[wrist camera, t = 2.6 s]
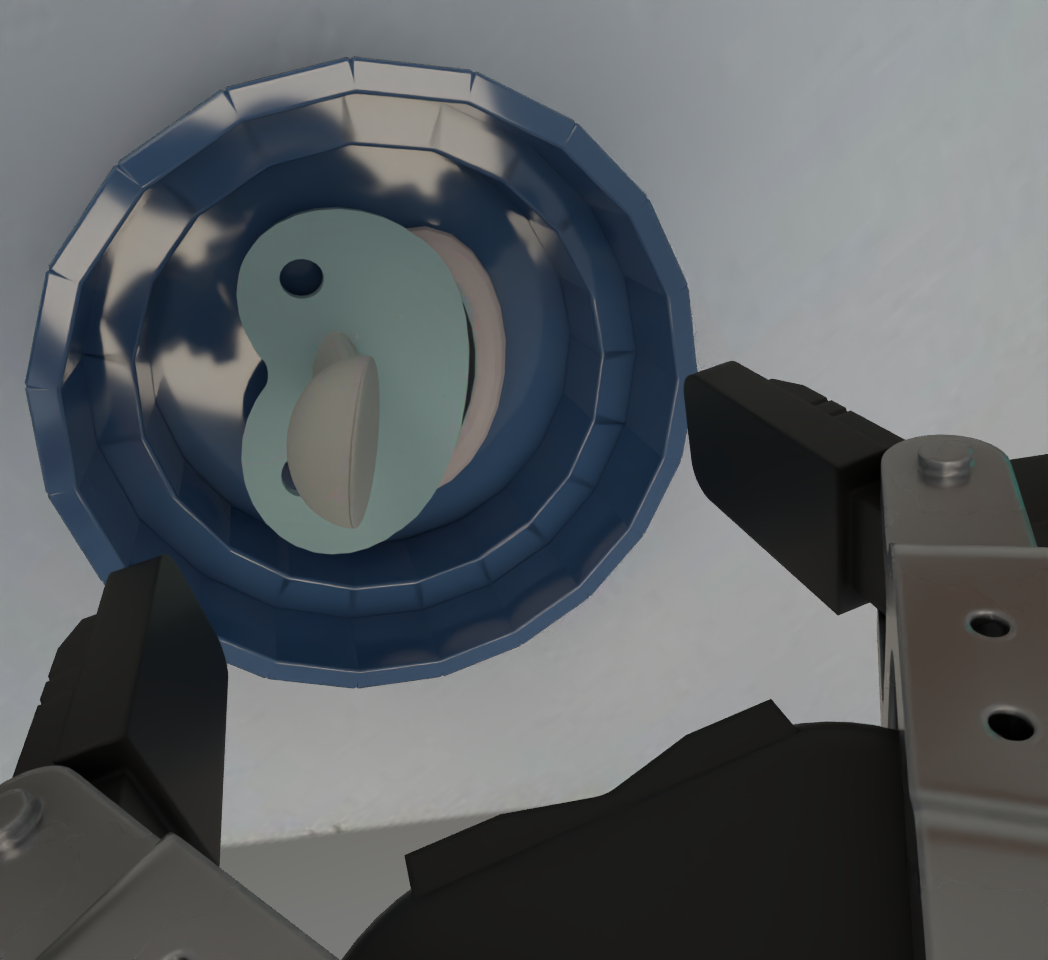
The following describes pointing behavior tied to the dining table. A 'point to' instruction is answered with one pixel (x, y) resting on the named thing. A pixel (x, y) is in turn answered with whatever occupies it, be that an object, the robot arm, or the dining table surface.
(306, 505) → the pacifier
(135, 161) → the bowl
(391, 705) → the dining table surface
